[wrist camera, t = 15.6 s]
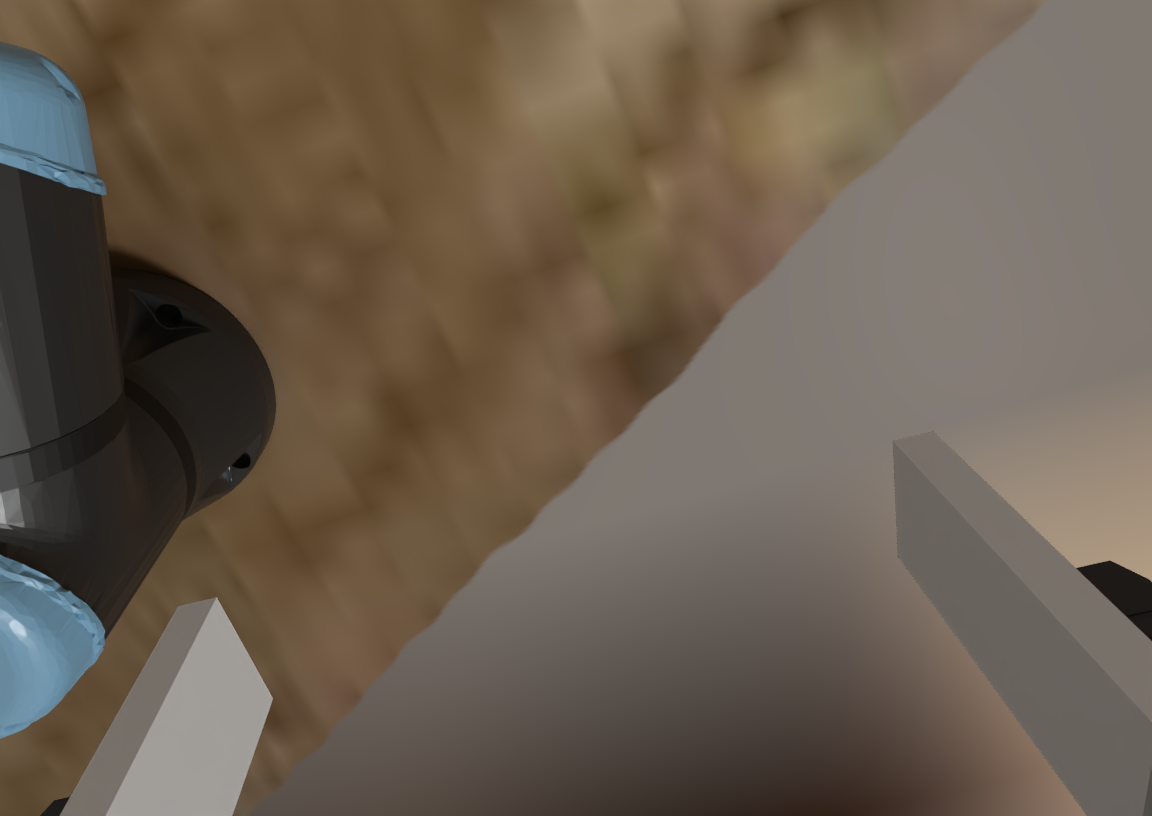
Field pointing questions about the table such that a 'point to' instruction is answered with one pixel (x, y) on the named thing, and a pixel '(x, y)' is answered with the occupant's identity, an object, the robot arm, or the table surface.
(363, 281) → the table surface
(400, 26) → the table surface
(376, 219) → the table surface
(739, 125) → the table surface
